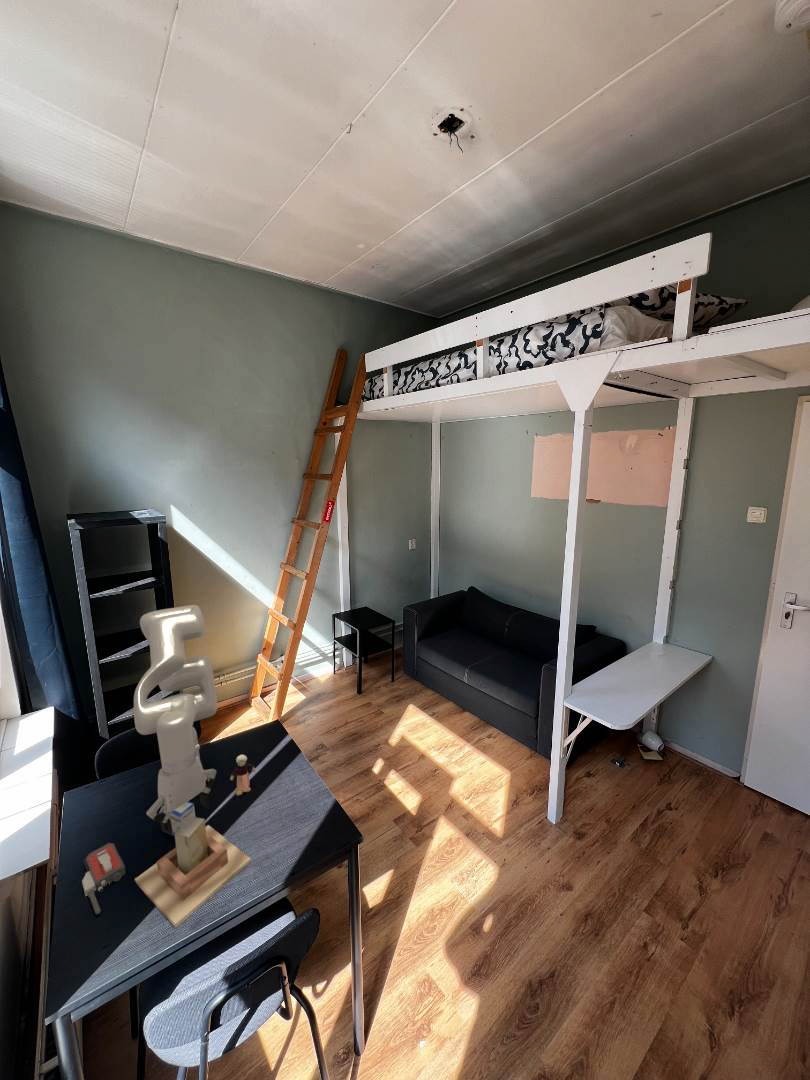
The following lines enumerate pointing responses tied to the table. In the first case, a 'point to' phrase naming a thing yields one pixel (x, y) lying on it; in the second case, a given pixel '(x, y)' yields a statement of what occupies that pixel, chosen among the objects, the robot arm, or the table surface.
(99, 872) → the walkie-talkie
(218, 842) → the socket stand
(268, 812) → the table surface
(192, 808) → the medicine box
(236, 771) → the grandmother figurine
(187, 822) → the skincare box
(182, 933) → the table surface
